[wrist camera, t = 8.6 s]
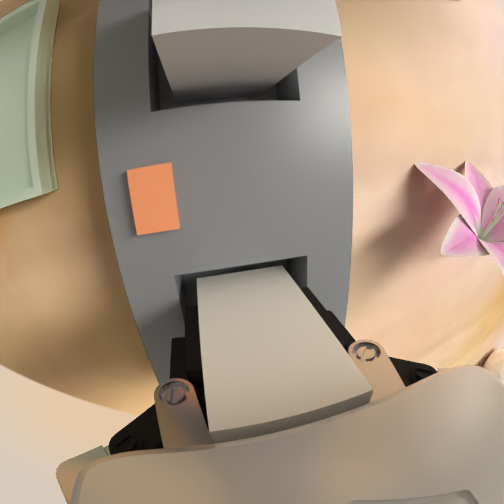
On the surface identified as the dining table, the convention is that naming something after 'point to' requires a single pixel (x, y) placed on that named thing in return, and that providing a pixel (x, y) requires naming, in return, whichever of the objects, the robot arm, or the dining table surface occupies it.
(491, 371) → the geometric ball
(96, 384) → the dining table surface
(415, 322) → the dining table surface
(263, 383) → the cream plug
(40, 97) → the sage tray
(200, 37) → the grey twin plug
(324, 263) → the power strip
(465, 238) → the lily
